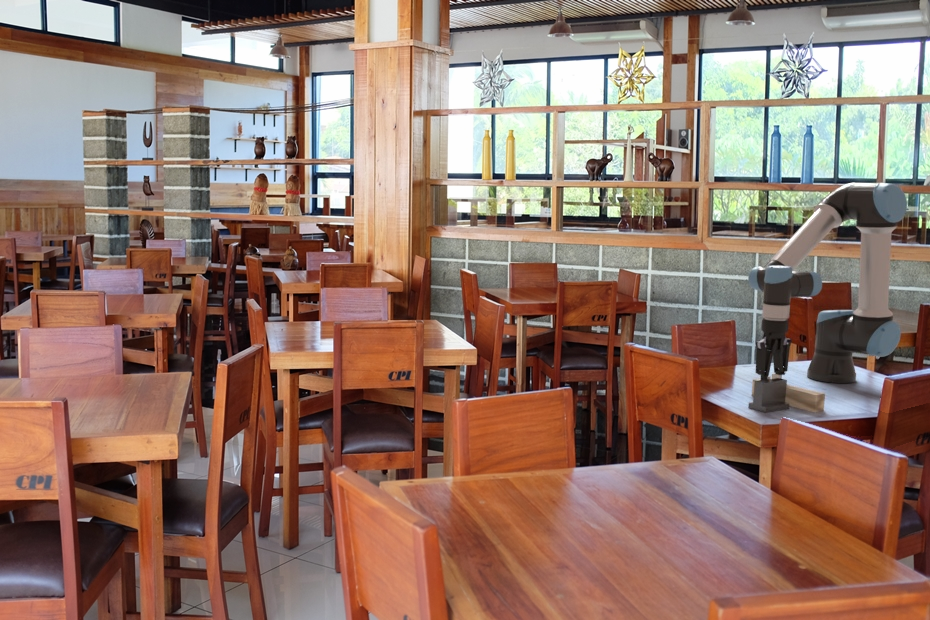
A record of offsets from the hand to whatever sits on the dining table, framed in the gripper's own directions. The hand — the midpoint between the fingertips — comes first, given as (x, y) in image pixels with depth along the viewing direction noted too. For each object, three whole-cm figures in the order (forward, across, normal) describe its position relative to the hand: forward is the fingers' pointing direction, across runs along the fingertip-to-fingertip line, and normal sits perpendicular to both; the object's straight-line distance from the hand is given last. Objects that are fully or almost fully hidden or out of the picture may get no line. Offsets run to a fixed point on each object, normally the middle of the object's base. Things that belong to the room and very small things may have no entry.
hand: (769, 396), depth 269 cm
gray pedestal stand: (+1, +10, +8) cm, 13 cm away
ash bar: (+1, 0, +6) cm, 6 cm away
